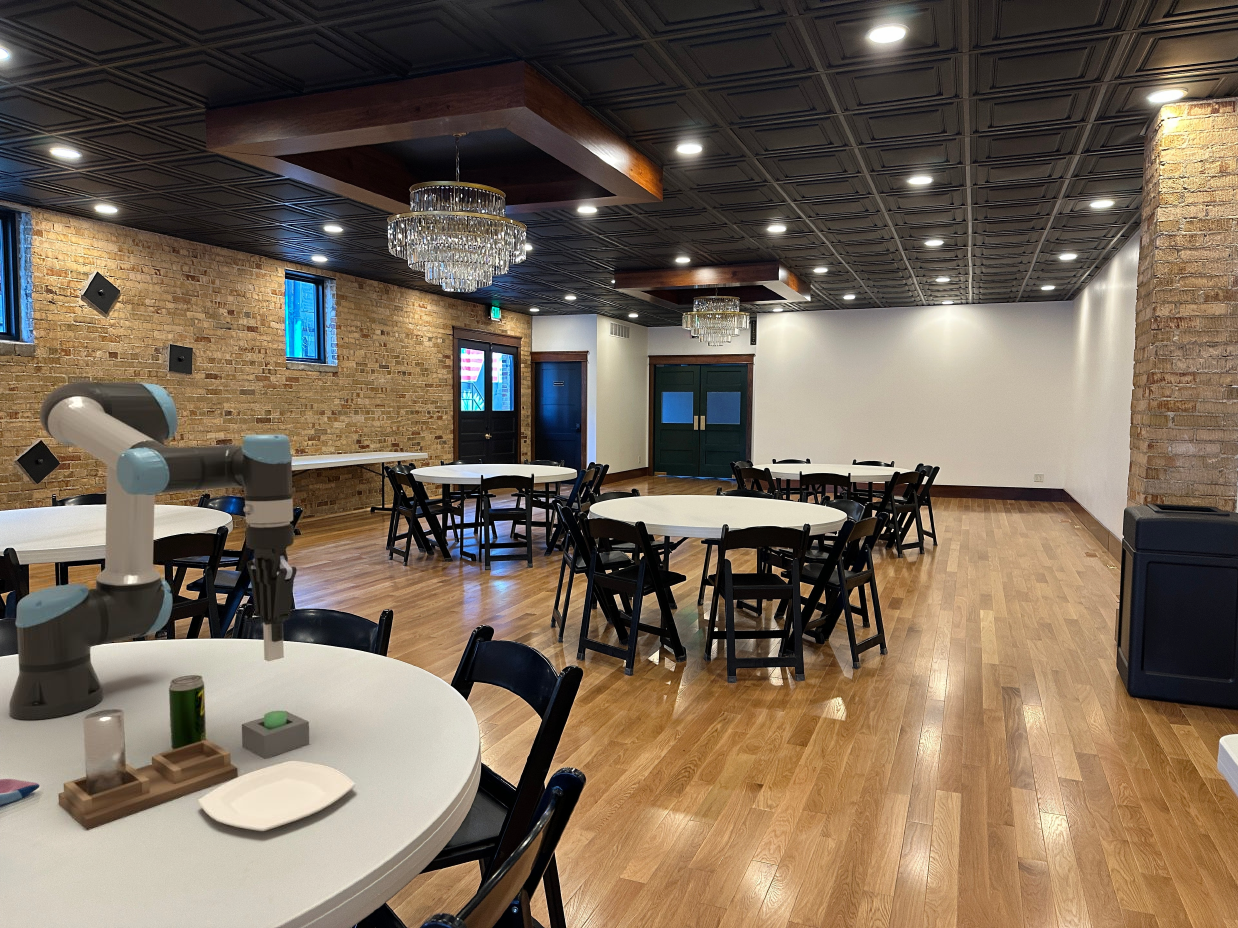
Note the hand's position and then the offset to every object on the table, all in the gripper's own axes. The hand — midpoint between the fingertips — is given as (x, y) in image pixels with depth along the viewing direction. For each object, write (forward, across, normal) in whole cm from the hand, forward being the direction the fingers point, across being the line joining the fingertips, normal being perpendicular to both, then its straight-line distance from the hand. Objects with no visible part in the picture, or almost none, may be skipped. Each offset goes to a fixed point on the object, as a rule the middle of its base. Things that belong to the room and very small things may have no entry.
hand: (274, 658), depth 139 cm
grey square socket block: (+16, 0, 0) cm, 16 cm away
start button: (+13, 0, 0) cm, 13 cm away
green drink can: (+16, -11, -10) cm, 22 cm away
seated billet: (+14, +1, -26) cm, 30 cm away
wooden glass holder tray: (+16, +1, -20) cm, 26 cm away
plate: (+16, +20, -10) cm, 27 cm away
